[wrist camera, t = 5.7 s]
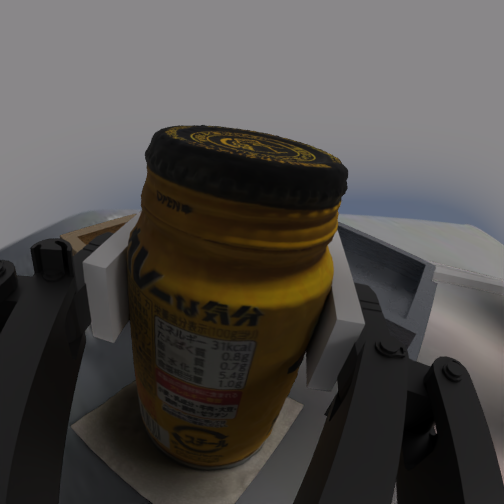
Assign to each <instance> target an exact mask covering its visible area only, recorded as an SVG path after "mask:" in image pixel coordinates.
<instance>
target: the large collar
mask: <svg viewBox="0 0 504 504" xmlns="http://www.w3.org/2000/svg"><path fill="white" fill-rule="evenodd" d="M337 230H338V233H339V236H340V239H341V242H342V246H343V249H344V252H345V255H346V258H347V262H348V265H349V268H350V272H351V275H352V278H353V282H354V283H359V284H364V285H368V286H369V287H370V288H371V289H372V290H373V291H374V292H375V293H376V295H377V298H378V300H379V303H380V304H379V305H380V306H381V309H382V313H383V315H384V317H385V320H386V323H387V326H388V329H389V332H390V335H391V336H392V337H394V338H396V339H398V340H399V341H400V342H401V343H403V344H404V346H405V347H406V349H407V350H408V355H409V359H412V360H414V361H416V360H417V357H418V354H419V351H420V347H421V344H422V341H423V337H424V334H425V330H426V327H427V323H428V319H429V316H430V312H431V308H432V304H433V300H434V295H435V291H436V287H437V283H435V282H433V281H432V279H433V275H434V271H435V267H436V265H433V264H431V263H429V262H427V261H425V260H423V259H421V258H419V257H417V256H414V255H412V254H410V253H408V252H406V251H404V250H401V249H399V248H397V247H395V246H393V245H390V244H388V243H386V242H384V241H382V240H379V239H377V238H375V237H372V236H370V235H368V234H366V233H363V232H361V231H359V230H356V229H354V228H352V227H349V226H347V225H345V224H342V223H340V222H338V228H337Z"/></svg>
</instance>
